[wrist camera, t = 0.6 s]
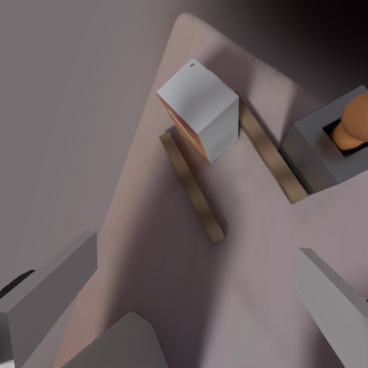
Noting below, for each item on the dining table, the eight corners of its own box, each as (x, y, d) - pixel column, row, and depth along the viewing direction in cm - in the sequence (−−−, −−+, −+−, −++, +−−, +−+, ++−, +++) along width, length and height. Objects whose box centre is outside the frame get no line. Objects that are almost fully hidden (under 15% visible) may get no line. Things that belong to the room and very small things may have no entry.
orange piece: (368, 149, 24) (418, 121, 17) (331, 167, 24) (366, 147, 18) (343, 119, 25) (381, 83, 18) (309, 138, 26) (334, 108, 19)
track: (304, 197, 31) (308, 196, 29) (214, 242, 33) (213, 243, 31) (236, 97, 36) (236, 90, 34) (163, 141, 38) (159, 136, 36)
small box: (181, 135, 38) (154, 91, 25) (207, 111, 37) (193, 54, 25) (210, 166, 35) (197, 134, 23) (239, 140, 35) (241, 94, 22)
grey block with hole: (359, 169, 30) (417, 144, 20) (307, 196, 31) (339, 183, 21) (325, 126, 32) (362, 84, 22) (277, 152, 33) (293, 123, 23)
